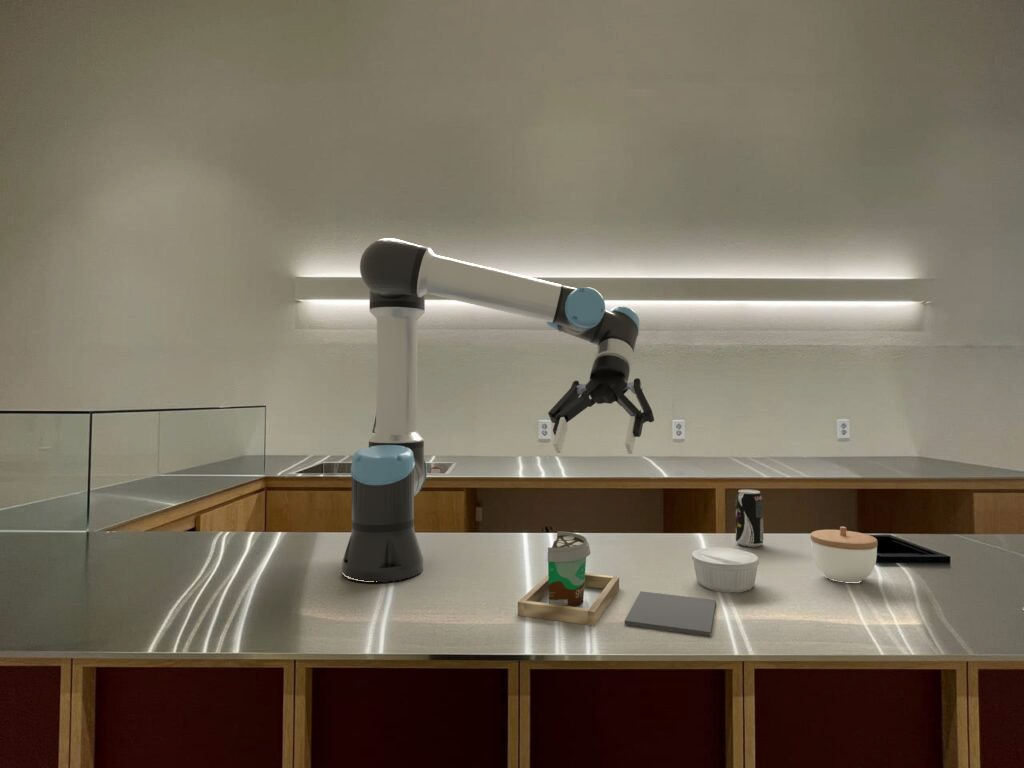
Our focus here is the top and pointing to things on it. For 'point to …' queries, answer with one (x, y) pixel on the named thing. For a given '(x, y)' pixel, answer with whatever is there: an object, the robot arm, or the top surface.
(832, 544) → the lidded jar
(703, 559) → the ramekin
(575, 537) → the food container
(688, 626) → the charcoal mat
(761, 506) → the beverage can
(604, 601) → the oak frame
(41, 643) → the top surface
